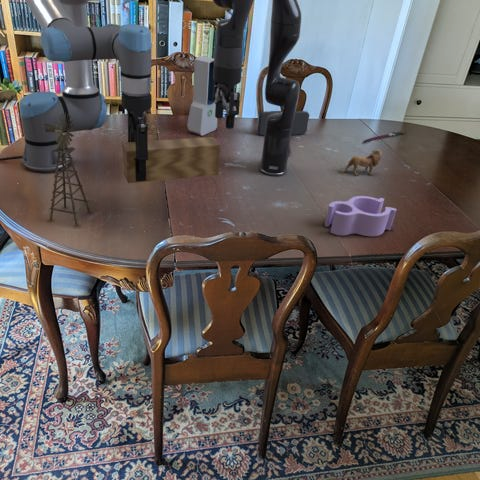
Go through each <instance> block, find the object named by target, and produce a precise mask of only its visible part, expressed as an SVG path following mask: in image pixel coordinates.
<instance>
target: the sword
mask: <svg viewBox="0 0 480 480" xmlns="http://www.w3.org/2000/svg"><path fill="white" fill-rule="evenodd" d="M401 132H402V131H396V132H394V131H392V132H391V133H387V134H383V135H377V136H374V137H369V138H367V139H365V140H363V144H365V143H367V142H370V141H373V140H377V139H382V138H387V137H393V136H397V135H401V134H402V133H401ZM406 133H407V131H406V132H405V133H404V134H406Z"/></svg>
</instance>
